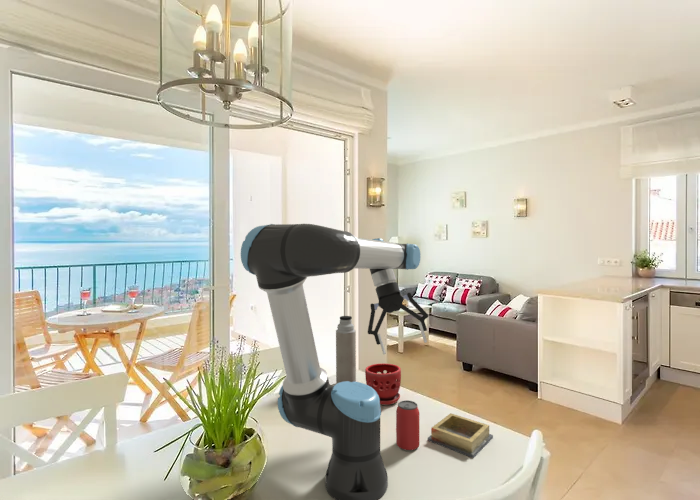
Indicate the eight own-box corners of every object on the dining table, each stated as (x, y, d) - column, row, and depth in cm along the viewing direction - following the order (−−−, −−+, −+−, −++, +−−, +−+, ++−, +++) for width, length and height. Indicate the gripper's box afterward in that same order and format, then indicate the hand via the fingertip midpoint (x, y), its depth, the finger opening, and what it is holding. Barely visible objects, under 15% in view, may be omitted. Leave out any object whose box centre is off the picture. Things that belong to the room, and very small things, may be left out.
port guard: (473, 457, 106) (473, 444, 105) (427, 440, 115) (427, 427, 115) (492, 437, 116) (493, 425, 116) (449, 423, 125) (449, 411, 125)
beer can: (392, 448, 111) (392, 406, 110) (401, 437, 117) (400, 397, 116) (415, 454, 108) (415, 411, 107) (422, 442, 114) (422, 402, 113)
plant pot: (401, 394, 149) (401, 363, 149) (400, 408, 136) (400, 374, 136) (367, 391, 151) (367, 361, 151) (363, 406, 138) (362, 372, 138)
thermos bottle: (332, 384, 159) (331, 316, 158) (346, 380, 164) (346, 313, 163) (345, 390, 153) (344, 319, 152) (359, 385, 158) (359, 316, 157)
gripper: (421, 275, 132) (441, 337, 127) (350, 296, 133) (368, 358, 128) (423, 272, 125) (444, 337, 120) (348, 293, 126) (366, 359, 121)
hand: (405, 348), depth 124 cm, fingers open, 13 cm apart
